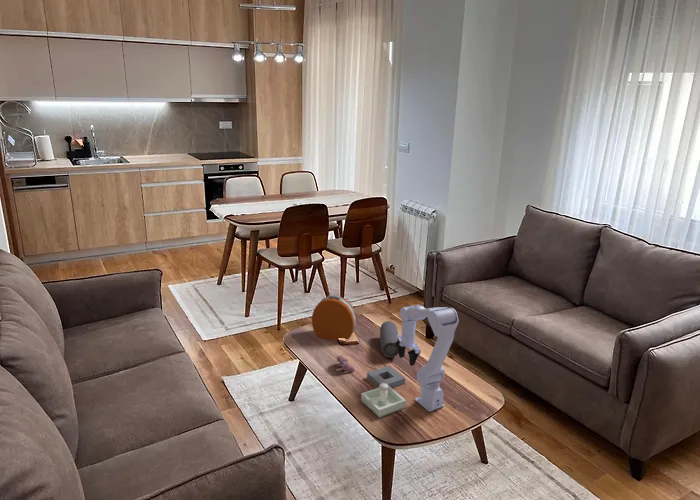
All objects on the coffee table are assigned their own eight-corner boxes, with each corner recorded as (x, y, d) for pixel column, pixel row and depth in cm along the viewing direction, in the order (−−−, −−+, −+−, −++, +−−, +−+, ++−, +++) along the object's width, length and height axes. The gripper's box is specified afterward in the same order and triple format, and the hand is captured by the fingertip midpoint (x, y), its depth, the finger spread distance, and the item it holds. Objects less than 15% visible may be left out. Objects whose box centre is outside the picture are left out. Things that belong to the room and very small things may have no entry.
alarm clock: (357, 334, 262) (358, 294, 255) (352, 342, 253) (353, 301, 246) (317, 328, 267) (317, 289, 260) (311, 336, 258) (311, 296, 251)
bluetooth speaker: (400, 360, 237) (401, 341, 234) (380, 359, 237) (381, 341, 234) (397, 337, 259) (397, 320, 256) (379, 337, 259) (379, 319, 256)
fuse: (389, 403, 203) (390, 386, 201) (382, 406, 201) (383, 389, 199) (383, 399, 206) (384, 382, 204) (376, 402, 204) (377, 384, 202)
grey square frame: (405, 383, 218) (405, 378, 218) (382, 391, 213) (382, 385, 212) (389, 370, 228) (389, 365, 227) (367, 377, 222) (367, 372, 222)
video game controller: (339, 366, 234) (333, 355, 231) (347, 360, 235) (341, 349, 232) (347, 376, 226) (340, 365, 223) (355, 371, 226) (349, 360, 223)
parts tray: (405, 407, 201) (406, 400, 200) (378, 417, 195) (379, 410, 194) (387, 391, 212) (387, 384, 211) (361, 400, 206) (361, 393, 205)
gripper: (391, 328, 218) (389, 355, 222) (411, 342, 206) (409, 371, 210) (404, 324, 221) (402, 351, 226) (424, 338, 210) (422, 366, 214)
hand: (406, 360), depth 218 cm, fingers open, 7 cm apart
